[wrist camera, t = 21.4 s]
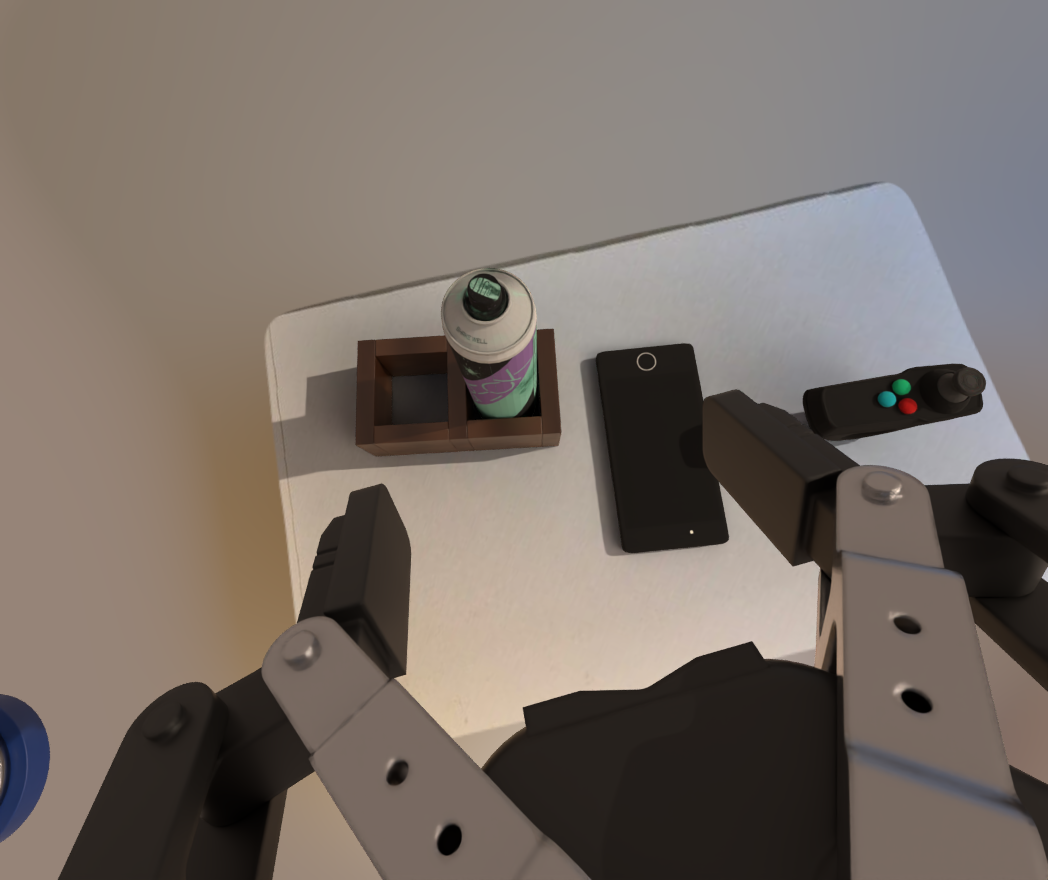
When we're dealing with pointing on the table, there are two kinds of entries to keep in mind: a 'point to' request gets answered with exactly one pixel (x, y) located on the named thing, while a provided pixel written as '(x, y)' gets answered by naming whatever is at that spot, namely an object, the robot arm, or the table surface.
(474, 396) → the spray can
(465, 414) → the rack
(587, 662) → the table surface
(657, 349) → the cell phone
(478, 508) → the table surface
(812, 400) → the controller
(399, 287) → the table surface
